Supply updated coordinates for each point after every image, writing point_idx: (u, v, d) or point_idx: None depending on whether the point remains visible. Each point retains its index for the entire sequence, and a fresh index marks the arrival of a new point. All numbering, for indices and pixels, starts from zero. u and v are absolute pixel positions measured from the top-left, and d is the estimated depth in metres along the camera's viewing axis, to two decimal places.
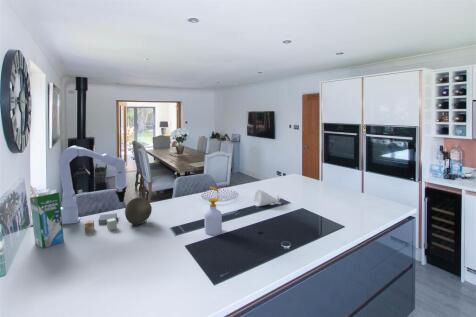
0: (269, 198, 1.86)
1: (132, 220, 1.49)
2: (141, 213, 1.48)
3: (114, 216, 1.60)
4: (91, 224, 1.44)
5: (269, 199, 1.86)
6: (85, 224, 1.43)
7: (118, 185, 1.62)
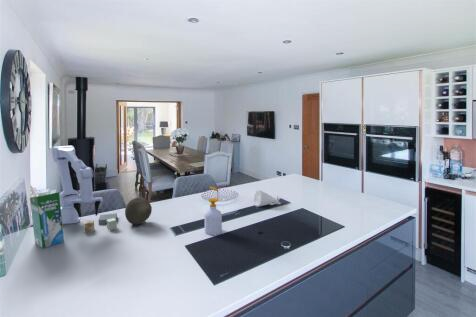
0: (269, 198, 1.86)
1: (132, 220, 1.49)
2: (141, 213, 1.48)
3: (114, 216, 1.60)
4: (91, 224, 1.44)
5: (269, 199, 1.86)
6: (85, 224, 1.43)
7: None
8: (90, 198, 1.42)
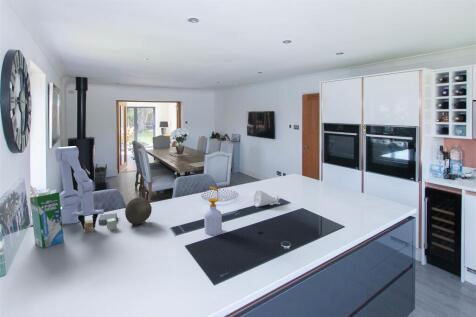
0: (269, 198, 1.86)
1: (132, 220, 1.49)
2: (141, 213, 1.48)
3: (114, 216, 1.60)
4: (91, 224, 1.44)
5: (269, 199, 1.86)
6: (85, 224, 1.43)
7: None
8: (91, 211, 1.43)
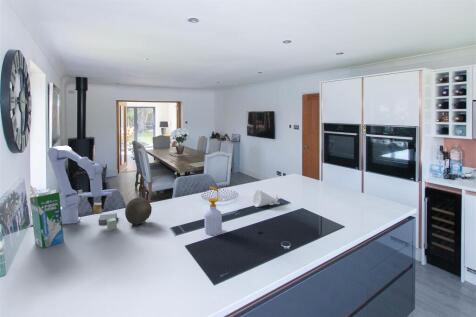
0: (268, 198, 1.86)
1: (132, 220, 1.49)
2: (141, 213, 1.48)
3: (114, 216, 1.60)
4: (100, 206, 1.49)
5: (268, 199, 1.86)
6: (94, 206, 1.48)
7: None
8: (100, 192, 1.49)
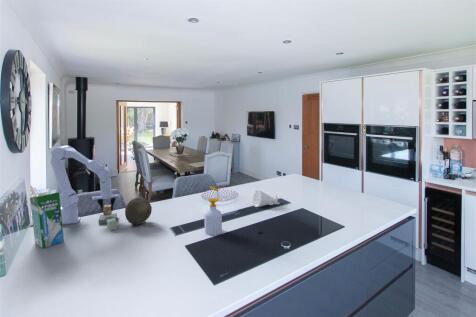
0: (268, 198, 1.86)
1: (132, 220, 1.49)
2: (141, 213, 1.48)
3: (114, 216, 1.60)
4: (109, 208, 1.57)
5: (268, 199, 1.86)
6: (104, 208, 1.56)
7: None
8: (109, 195, 1.56)
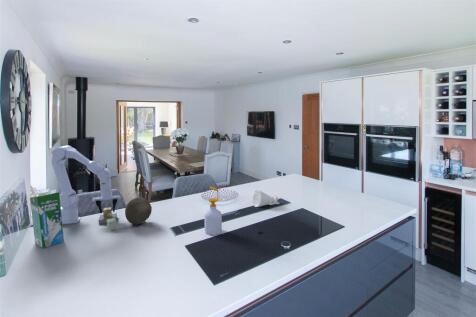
0: (268, 198, 1.86)
1: (132, 220, 1.49)
2: (141, 213, 1.48)
3: (114, 216, 1.60)
4: (109, 210, 1.57)
5: (268, 199, 1.85)
6: (104, 210, 1.56)
7: None
8: (109, 196, 1.56)
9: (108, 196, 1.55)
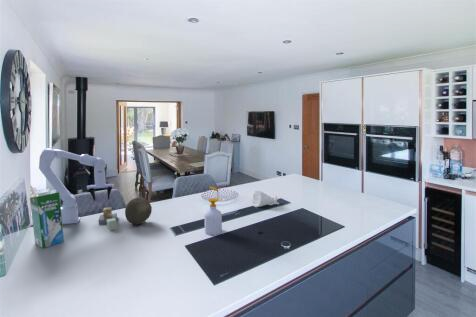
0: (268, 198, 1.85)
1: (132, 220, 1.49)
2: (141, 213, 1.48)
3: (114, 216, 1.60)
4: (109, 210, 1.57)
5: (268, 199, 1.85)
6: (104, 210, 1.56)
7: None
8: (103, 184, 1.63)
9: (102, 184, 1.62)
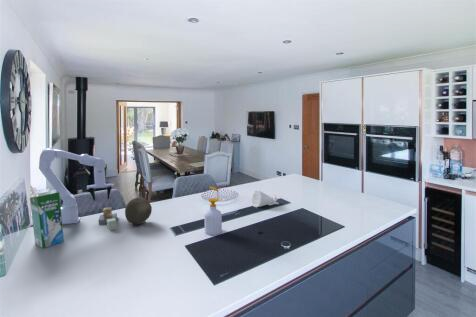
0: (268, 198, 1.85)
1: (132, 220, 1.49)
2: (141, 213, 1.48)
3: (114, 216, 1.60)
4: (109, 210, 1.57)
5: (268, 199, 1.85)
6: (104, 210, 1.56)
7: None
8: (103, 184, 1.63)
9: (102, 184, 1.63)
